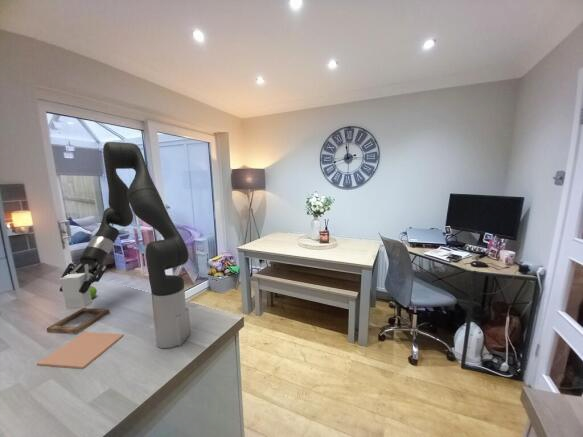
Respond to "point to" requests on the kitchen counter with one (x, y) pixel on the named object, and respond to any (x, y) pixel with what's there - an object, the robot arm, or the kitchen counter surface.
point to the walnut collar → (59, 326)
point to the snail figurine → (92, 291)
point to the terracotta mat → (81, 350)
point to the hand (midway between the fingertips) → (72, 292)
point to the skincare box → (75, 291)
